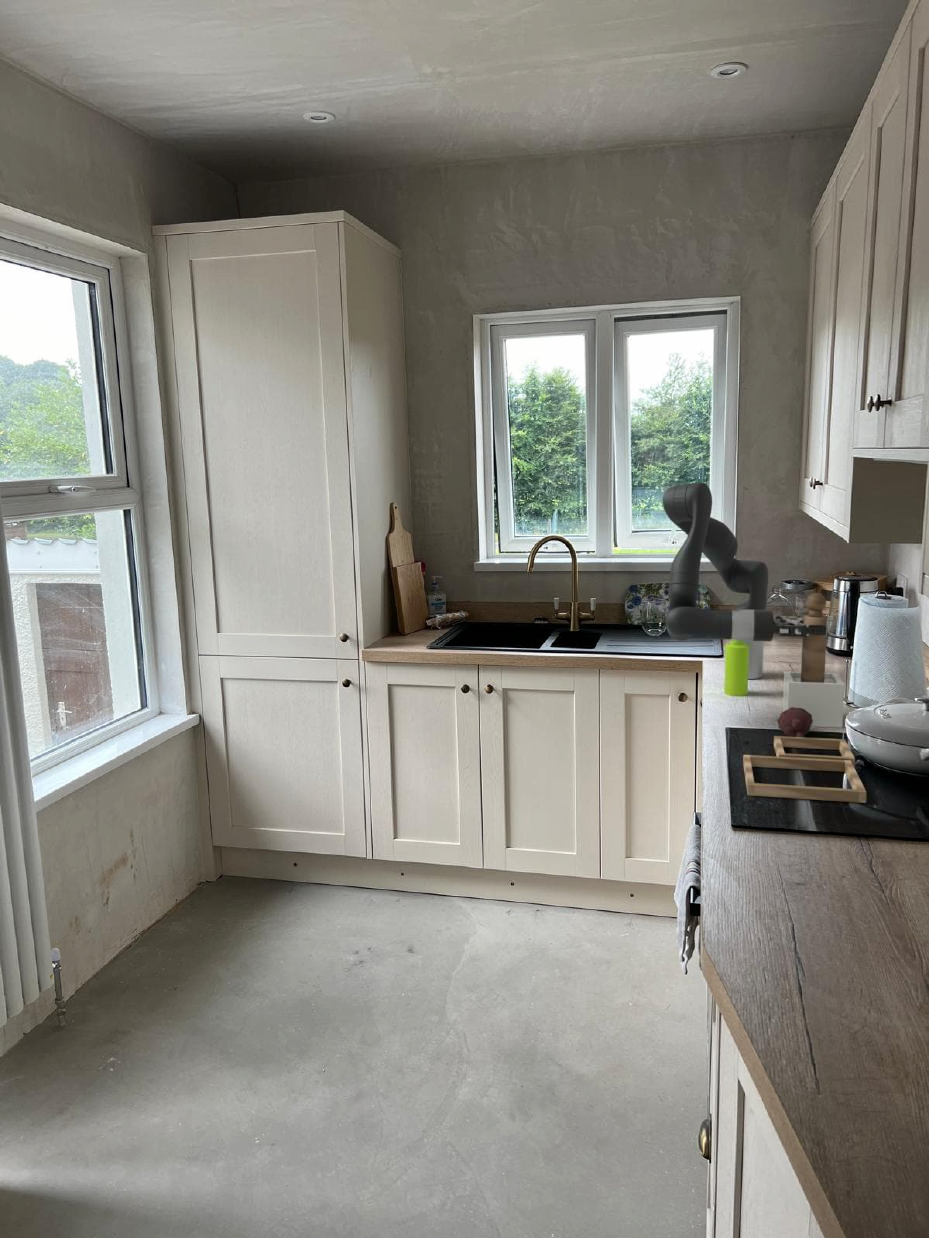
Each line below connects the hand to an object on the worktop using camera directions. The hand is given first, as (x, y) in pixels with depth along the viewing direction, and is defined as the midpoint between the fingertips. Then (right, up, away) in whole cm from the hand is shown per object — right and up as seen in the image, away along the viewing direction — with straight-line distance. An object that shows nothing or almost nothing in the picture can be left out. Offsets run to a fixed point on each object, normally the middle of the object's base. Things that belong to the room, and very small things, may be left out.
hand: (824, 626), depth 213 cm
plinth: (-1, -22, +4) cm, 23 cm away
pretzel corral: (-20, -30, -38) cm, 52 cm away
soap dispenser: (-11, -18, +30) cm, 37 cm away
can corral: (-11, -27, -23) cm, 37 cm away
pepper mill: (-2, -13, +3) cm, 14 cm away
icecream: (-10, -25, -9) cm, 28 cm away
